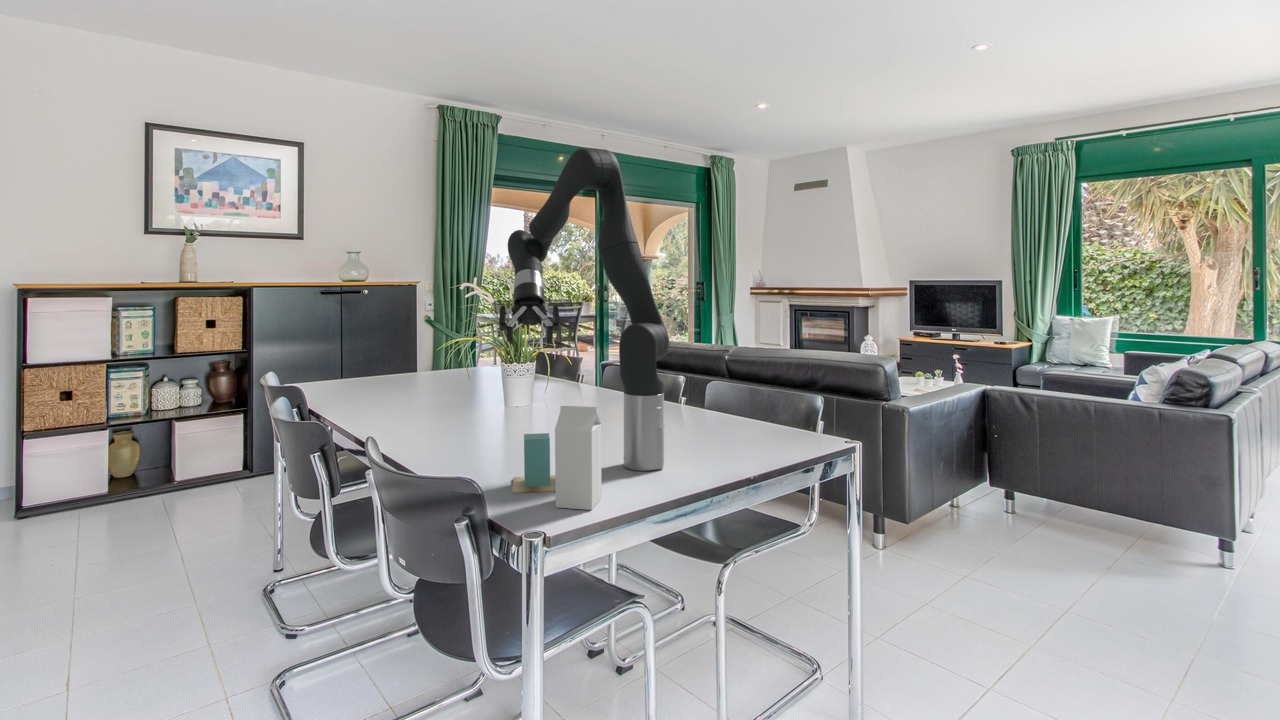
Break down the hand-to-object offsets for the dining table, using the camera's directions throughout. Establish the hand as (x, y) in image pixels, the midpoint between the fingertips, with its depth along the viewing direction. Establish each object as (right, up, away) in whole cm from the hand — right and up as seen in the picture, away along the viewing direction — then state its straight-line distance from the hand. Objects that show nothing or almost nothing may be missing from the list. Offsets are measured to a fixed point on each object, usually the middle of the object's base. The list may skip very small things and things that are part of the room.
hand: (530, 341), depth 155 cm
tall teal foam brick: (+4, -30, -15) cm, 34 cm away
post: (+4, -31, -15) cm, 34 cm away
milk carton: (+14, -32, -27) cm, 44 cm away
